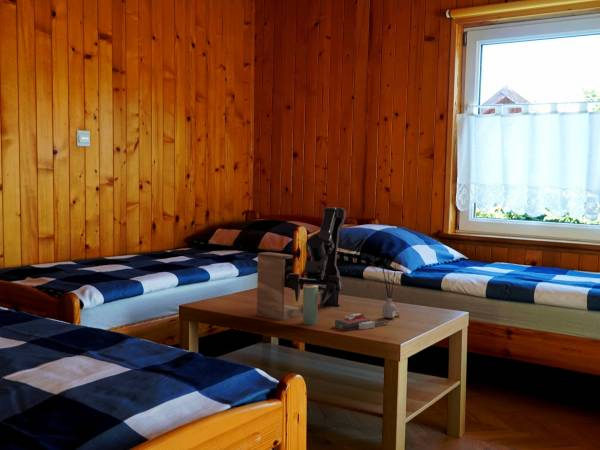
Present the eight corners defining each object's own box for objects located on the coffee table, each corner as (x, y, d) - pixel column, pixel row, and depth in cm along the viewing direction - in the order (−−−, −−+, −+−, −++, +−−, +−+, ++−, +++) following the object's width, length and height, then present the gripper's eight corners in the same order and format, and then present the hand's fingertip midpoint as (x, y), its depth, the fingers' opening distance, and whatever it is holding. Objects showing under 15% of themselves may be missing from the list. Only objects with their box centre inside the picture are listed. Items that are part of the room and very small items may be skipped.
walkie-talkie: (348, 333, 210) (390, 325, 223) (349, 320, 210) (391, 313, 223) (330, 328, 217) (372, 321, 230) (331, 315, 216) (372, 308, 229)
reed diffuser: (387, 321, 228) (388, 265, 227) (371, 317, 233) (373, 262, 231) (403, 317, 236) (405, 262, 234) (388, 314, 240) (390, 260, 239)
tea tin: (314, 321, 226) (315, 284, 225) (319, 324, 221) (320, 286, 220) (300, 321, 224) (301, 284, 223) (304, 325, 219) (305, 287, 218)
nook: (278, 310, 242) (279, 251, 240) (301, 315, 234) (303, 254, 232) (256, 314, 234) (257, 253, 232) (280, 320, 226) (282, 256, 224)
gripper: (288, 250, 227) (279, 286, 217) (340, 253, 223) (333, 290, 213) (293, 269, 235) (284, 305, 225) (344, 272, 231) (337, 309, 221)
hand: (309, 302), depth 221 cm, fingers open, 9 cm apart
